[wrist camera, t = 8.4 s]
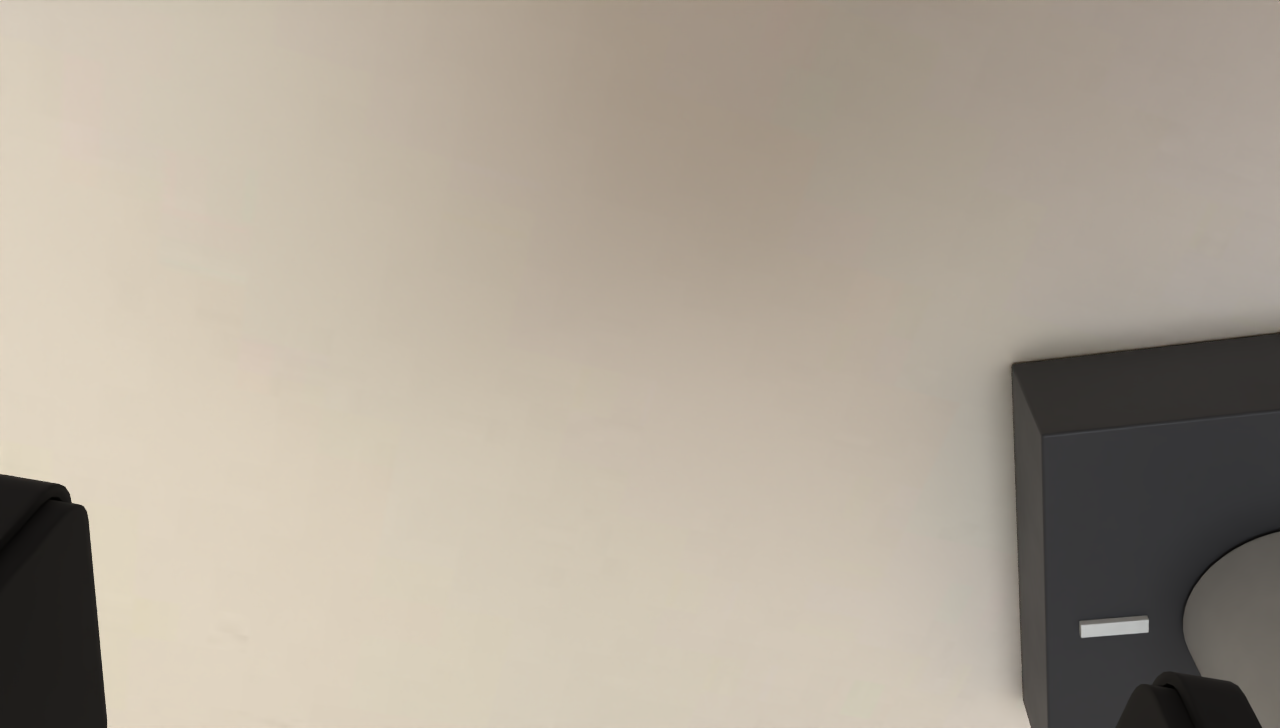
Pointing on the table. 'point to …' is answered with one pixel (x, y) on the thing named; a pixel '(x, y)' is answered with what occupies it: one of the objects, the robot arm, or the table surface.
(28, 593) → the robot arm
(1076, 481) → the panel
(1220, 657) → the timer knob
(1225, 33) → the table surface
